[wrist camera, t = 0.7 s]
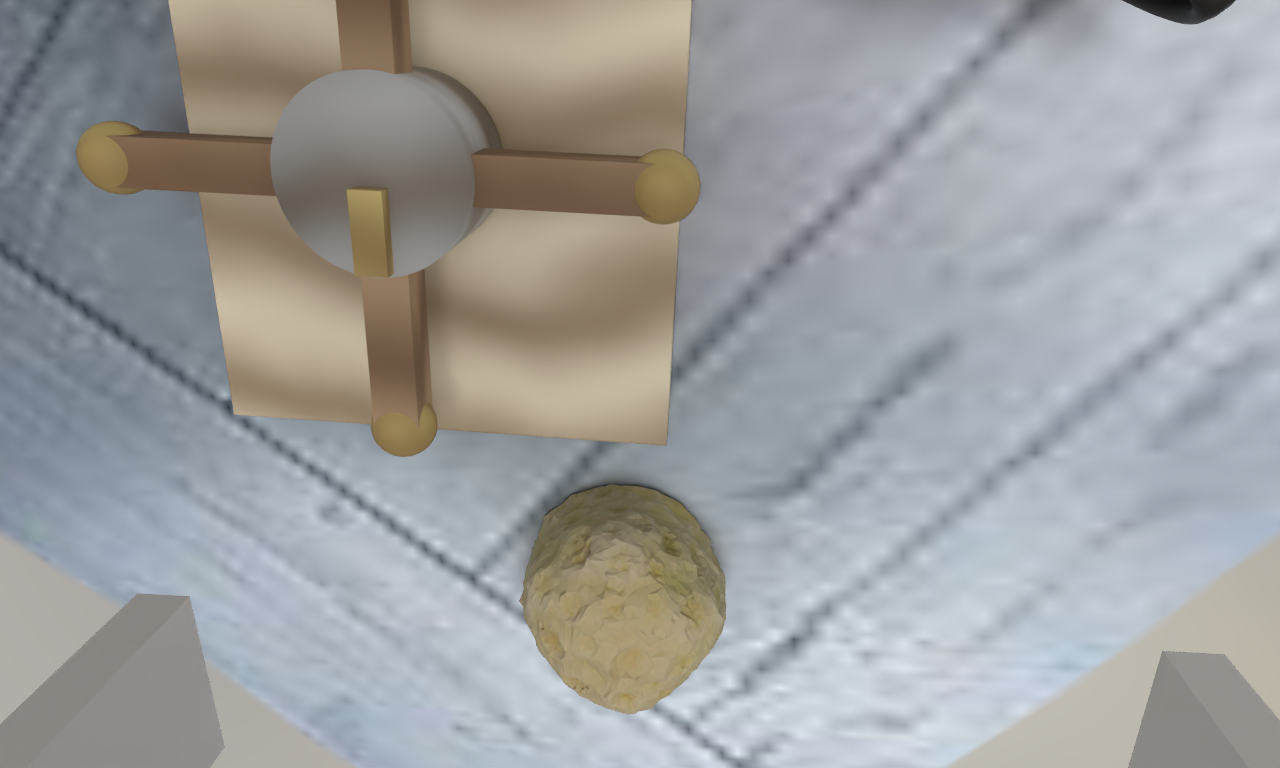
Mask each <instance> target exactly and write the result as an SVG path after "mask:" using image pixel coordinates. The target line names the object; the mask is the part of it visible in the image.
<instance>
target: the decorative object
mask: <svg viewBox="0 0 1280 768" xmlns="http://www.w3.org/2000/svg"><path fill="white" fill-rule="evenodd" d="M523 583H524V590H523V594H522V596H521V598H520V600H519V602H520V603H521V604H522V605H523V609H524V618H525V621H526V623H527V625H528V626H529V628H530V630H531V632H532V634H533V635H534V637H535V640H536V645H537V647H538V649H539V651H540V653H541V654H542V655H543V657H545V658H546V659H547V661H548V662H549V664H550V665H551V666H552V668H553V669H554V670H555V671H556V673H557V674H558V675H559V676H560V677H561V678H562V680H563V682H564V683H565V684H566V685H567V686H568V687H570V688H571V689H573V690H575V691H576V692H577V693H578V694H579V695H580V696H582V697H584V698H586V699H588V700H590V701H592V702H593V703H595V704H598V705H601V706H603V707H605V708H608V709H612V710H615V711H619V712H621V713H625V714H635V713H636V712H638V711H643V710H647V709H651V708H653V706H654V705H655V704H656V703H657V702H658V701H659V700H661V699H662V698H664V697H666V696H668V695H670V694H671V693H672V692H673V691H674V690H675V689H676V688H677V687H678V686H679V685H681V684H682V683H683V682H684V681H685V680H686V679H688V677H689V675H690V674H691V673H692V671H694V670H695V669H697V668H698V666H699V664H700V662H701V661H702V660H703V659H704V658H705V657H706V656H707V655H708V654H709V653H710V650H711V649H712V648H713V647H714V645H715V643H716V641H717V640H718V638H719V636H720V634H721V632H722V630H723V626H724V621H725V619H726V603H725V576H724V573H723V571H722V569H721V568H720V566H719V564H718V561H717V558H716V557H715V555H714V554H713V551H712V547H711V543H710V538H709V537H708V536H707V535H706V534H705V533H704V532H703V531H702V530H701V527H700V524H699V523H698V522H697V521H696V518H695V517H694V516H693V515H691V514H690V513H689V512H688V511H687V510H686V508H685V507H684V506H683V505H682V504H681V503H680V502H678V501H676V500H674V499H672V498H670V497H667V496H665V495H663V494H662V493H660V492H658V491H656V490H653V489H648V488H644V487H638V486H619V485H616V484H609V485H607V486H600V487H596V488H593V489H590V490H586V491H582V492H580V493H579V494H572V495H571V496H569V497H568V498H567V499H566V501H565V502H564V503H562V504H561V505H559V506H558V507H556V508H555V509H553V510H552V511H551V512H550V513H548V514H547V515H545V516H544V517H543V521H542V527H541V529H540V530H539V535H538V538H537V541H535V545H534V546H533V548H532V554H531V557H530V560H529V563H528V565H527V568H526V572H525V579H524V582H523Z"/></svg>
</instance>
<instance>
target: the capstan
mask: <svg viewBox="0 0 1280 768" xmlns="http://www.w3.org/2000/svg"><path fill="white" fill-rule="evenodd" d="M336 10H337V21H338V32H339V44H340V55H341V66H342V71H340V72H335V73H332V74H329V75H326V76H323V77H320V78H319V79H317V80H315V81H313V82H311V83H309V84H308V85H307V86H305V87H304V88H303V89H301V90H300V91H299V92H298V93H297V94H296V95H295V96H294V97H293V98H292V99H291V100H290V102H289V103H288V105H287V106H286V107H285V109H284V110H283V112H282V114H281V116H280V118H279V120H278V122H277V125H276V128H275V131H274V134H273V137H254V136H234V135H215V134H195V133H176V132H156V131H141V130H140V129H139V128H137V127H135V126H133V125H130V124H128V123H124V122H119V121H106V122H101V123H98V124H95V125H93V126H92V127H90V128H89V129H87V130H86V131H85V132H84V133H83V134H82V136H81V138H80V139H79V142H78V145H77V151H76V156H77V161H78V164H79V167H80V169H81V171H82V172H83V174H84V175H85V177H86V178H87V179H88V180H89V181H90V182H92V183H93V184H94V185H95V186H97V187H99V188H100V189H102V190H105V191H107V192H110V193H114V194H133V193H137V192H139V191H142V190H144V189H153V190H171V191H189V192H207V193H225V194H243V195H261V196H277V200H278V202H279V204H280V207H281V209H282V211H283V213H284V215H285V217H286V218H287V220H288V222H289V223H290V225H291V226H292V228H293V229H294V230H295V232H296V233H297V234H298V236H299V237H300V238H301V239H302V240H303V241H304V242H305V243H306V244H307V245H308V246H309V247H310V248H311V249H312V250H313V251H314V252H316V253H317V254H318V255H319V256H321V257H322V258H324V259H325V260H327V261H328V262H330V263H332V264H333V265H335V266H337V267H339V268H341V269H344V270H346V271H349V272H351V273H354V274H355V276H360V277H361V288H362V299H363V310H364V321H365V332H366V344H367V355H368V366H369V377H370V388H371V399H372V410H373V415H372V418H371V431H372V435H373V437H374V440H375V441H376V443H377V444H378V445H379V446H380V447H381V448H382V449H383V450H384V451H386V452H388V453H390V454H392V455H395V456H401V457H406V456H412V455H416V454H418V453H420V452H422V451H423V450H425V449H426V448H427V447H428V446H429V445H430V444H431V443H432V441H433V439H434V437H435V435H436V432H437V425H438V423H437V416H436V413H435V411H434V409H433V405H432V388H431V371H430V355H429V338H428V321H427V305H426V288H425V271H424V268H426V267H428V266H429V265H431V264H432V263H434V262H435V261H437V260H438V259H439V258H441V257H442V256H443V255H444V254H446V253H447V252H448V251H449V250H451V249H452V248H453V247H454V246H456V245H457V244H458V243H459V242H461V241H462V240H463V239H464V238H466V237H467V236H468V235H469V234H471V233H472V232H473V231H474V230H476V229H477V228H478V227H479V226H480V225H481V224H482V223H483V222H484V221H485V220H486V219H487V217H488V216H489V214H490V213H491V211H492V210H493V208H495V209H513V210H531V211H549V212H567V213H585V214H603V215H621V216H639V217H642V218H643V219H645V220H647V221H649V222H651V223H654V224H660V225H667V224H672V223H676V222H678V221H680V220H682V219H684V218H685V217H686V216H688V215H689V214H690V213H691V211H692V210H693V209H694V207H695V205H696V204H697V201H698V199H699V195H700V178H699V174H698V172H697V169H696V168H695V166H694V164H693V163H692V162H691V161H690V160H689V159H688V158H687V157H686V156H685V155H683V154H681V153H680V152H677V151H675V150H671V149H657V150H653V151H650V152H648V153H646V154H645V155H643V156H625V155H606V154H586V153H567V152H547V151H528V150H508V149H503V148H502V143H501V139H500V136H499V133H498V130H497V128H496V126H495V124H494V122H493V120H492V117H491V116H490V114H489V113H488V111H487V110H486V108H485V106H484V105H483V104H482V103H481V102H480V100H479V99H478V98H477V97H476V96H475V95H474V94H473V93H472V92H471V91H470V90H469V89H468V88H467V87H465V86H464V85H463V84H461V83H460V82H459V81H457V80H456V79H454V78H452V77H450V76H448V75H447V74H444V73H442V72H439V71H437V70H434V69H430V68H426V67H421V66H412V55H411V38H410V21H409V5H408V0H336Z"/></svg>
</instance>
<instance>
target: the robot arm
mask: <svg viewBox="0 0 1280 768" xmlns="http://www.w3.org/2000/svg"><path fill="white" fill-rule="evenodd" d="M223 748H224V742H223V738H222V734H221V729H220V725H219V721H218V717H217V713H216V708H215V704H214V699H213V695H212V691H211V687H210V682H209V678H208V674H207V670H206V665H205V661H204V657H203V652H202V648H201V644H200V639H199V635H198V631H197V627H196V622H195V618H194V614H193V609H192V605H191V601H190V597H189V596H171V595H153V594H137V595H136V596H135V597H134V598H132V599H131V600H130V601H129V602H128V603H127V604H126V605H125V606H124V607H123V608H122V609H121V610H120V611H119V612H118V613H117V614H116V615H115V616H114V617H112V619H110V620H109V621H108V622H107V623H106V624H105V625H104V626H103V627H102V628H101V629H100V630H99V631H98V632H97V633H96V634H95V635H94V636H93V637H91V638H90V639H89V640H88V641H87V642H86V643H85V644H84V645H83V646H82V647H81V648H80V649H79V650H78V651H77V652H76V653H75V654H74V655H73V656H72V657H70V658H69V659H68V660H67V661H66V662H65V663H64V664H63V665H62V666H61V667H60V668H59V669H58V670H57V671H56V672H55V673H54V674H53V675H52V676H51V677H49V678H48V679H47V680H46V681H45V682H44V683H43V684H42V685H41V686H40V687H39V688H38V689H37V690H36V691H35V692H34V693H33V694H32V695H31V696H30V697H28V698H27V699H26V700H25V701H24V702H23V703H22V704H21V705H20V706H19V707H18V708H17V709H16V710H15V711H14V712H13V713H12V714H11V715H10V716H8V717H7V718H6V719H5V720H4V721H3V722H2V723H1V724H0V768H210V767H211V766H212V764H213V763H214V761H215V760H216V758H217V757H218V756H219V754H220V753H221V751H222V750H223ZM1128 768H1280V720H1279V719H1278V718H1277V717H1276V715H1275V714H1274V713H1273V712H1272V711H1271V709H1270V708H1269V707H1268V706H1267V705H1266V704H1265V702H1264V701H1263V700H1262V699H1261V698H1260V696H1259V695H1258V694H1257V693H1256V692H1255V690H1254V689H1253V688H1252V687H1251V686H1250V684H1249V683H1248V682H1247V681H1246V680H1245V679H1244V677H1243V676H1242V675H1241V674H1240V672H1239V671H1238V670H1237V669H1236V668H1235V666H1234V665H1233V664H1232V663H1231V662H1230V660H1229V659H1228V658H1227V657H1226V656H1225V655H1224V654H1207V653H1188V652H1171V651H1162V654H1161V657H1160V661H1159V664H1158V668H1157V671H1156V674H1155V678H1154V681H1153V685H1152V688H1151V692H1150V695H1149V698H1148V702H1147V705H1146V709H1145V712H1144V716H1143V719H1142V722H1141V726H1140V729H1139V733H1138V736H1137V739H1136V743H1135V746H1134V750H1133V753H1132V757H1131V760H1130V763H1129V767H1128Z"/></svg>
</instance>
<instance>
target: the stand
mask: <svg viewBox="0 0 1280 768" xmlns="http://www.w3.org/2000/svg"><path fill="white" fill-rule="evenodd" d="M168 1H169V8H170V14H171V20H172V26H173V33H174V39H175V45H176V52H177V58H178V64H179V70H180V77H181V83H182V89H183V96H184V102H185V108H186V114H187V121H188V127H189V133H195V134H215V135H234V136H254V137H273V134H274V131H275V128H276V125H277V122H278V120H279V118H280V116H281V114H282V112H283V110H284V109H285V107H286V106H287V105H288V103H289V102H290V100H291V99H292V98H293V97H294V96H295V95H296V94H297V93H298V92H299V91H300V90H301V89H303V88H304V87H305V86H307V85H308V84H309V83H311V82H313V81H315V80H317V79H319V78H320V77H323V76H326V75H329V74H332V73H335V72H340V71H342V66H341V55H340V44H339V32H338V21H337V10H336V0H168ZM692 1H693V0H408V5H409V21H410V38H411V55H412V66H421V67H426V68H430V69H434V70H437V71H439V72H442V73H444V74H447V75H448V76H450V77H452V78H454V79H456V80H457V81H459V82H460V83H461V84H463V85H464V86H465V87H467V88H468V89H469V90H470V91H471V92H472V93H473V94H474V95H475V96H476V97H477V98H478V99H479V100H480V102H481V103H482V104H483V105H484V106H485V108H486V110H487V111H488V113H489V114H490V116H491V117H492V120H493V122H494V124H495V126H496V128H497V130H498V133H499V136H500V139H501V143H502V148H503V149H508V150H528V151H547V152H567V153H586V154H606V155H625V156H643V155H645V154H646V153H648V152H650V151H653V150H657V149H671V150H675V151H677V152H680V153H681V154H683V155H684V141H685V124H686V106H687V89H688V71H689V54H690V36H691V19H692ZM199 196H200V202H201V209H202V215H203V221H204V228H205V234H206V240H207V247H208V253H209V259H210V265H211V272H212V278H213V284H214V291H215V297H216V303H217V309H218V316H219V322H220V328H221V335H222V341H223V347H224V353H225V360H226V366H227V372H228V379H229V385H230V391H231V397H232V404H233V410H234V414H236V415H249V416H263V417H277V418H291V419H305V420H319V421H333V422H346V423H360V424H371V418H372V415H373V410H372V399H371V388H370V377H369V366H368V355H367V344H366V332H365V321H364V310H363V299H362V288H361V277H360V276H355V274H354V273H351V272H349V271H346V270H344V269H341V268H339V267H337V266H335V265H333V264H332V263H330V262H328V261H327V260H325V259H324V258H322V257H321V256H319V255H318V254H317V253H316V252H314V251H313V250H312V249H311V248H310V247H309V246H308V245H307V244H306V243H305V242H304V241H303V240H302V239H301V238H300V237H299V236H298V234H297V233H296V232H295V230H294V229H293V228H292V226H291V225H290V223H289V222H288V220H287V218H286V217H285V215H284V213H283V211H282V209H281V207H280V204H279V202H278V200H277V196H261V195H243V194H225V193H207V192H199ZM679 228H680V221H678V222H676V223H672V224H667V225H660V224H654V223H651V222H649V221H647V220H645V219H643V218H642V217H639V216H621V215H603V214H585V213H567V212H549V211H531V210H513V209H495V208H493V210H492V211H491V213H490V214H489V216H488V217H487V219H486V220H485V221H484V222H483V223H482V224H481V225H480V226H479V227H478V228H477V229H476V230H474V231H473V232H472V233H471V234H469V235H468V236H467V237H466V238H464V239H463V240H462V241H461V242H459V243H458V244H457V245H456V246H454V247H453V248H452V249H451V250H449V251H448V252H447V253H446V254H444V255H443V256H442V257H441V258H439V259H438V260H437V261H435V262H434V263H432V264H431V265H429V266H428V267H426V268H424V271H425V288H426V305H427V321H428V338H429V355H430V371H431V388H432V405H433V409H434V411H435V413H436V416H437V423H438V425H437V429H443V430H457V431H471V432H485V433H499V434H513V435H527V436H540V437H554V438H568V439H582V440H596V441H610V442H623V443H637V444H651V445H665V446H666V442H667V434H668V420H669V403H670V385H671V368H672V350H673V333H674V315H675V298H676V281H677V263H678V246H679Z"/></svg>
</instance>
